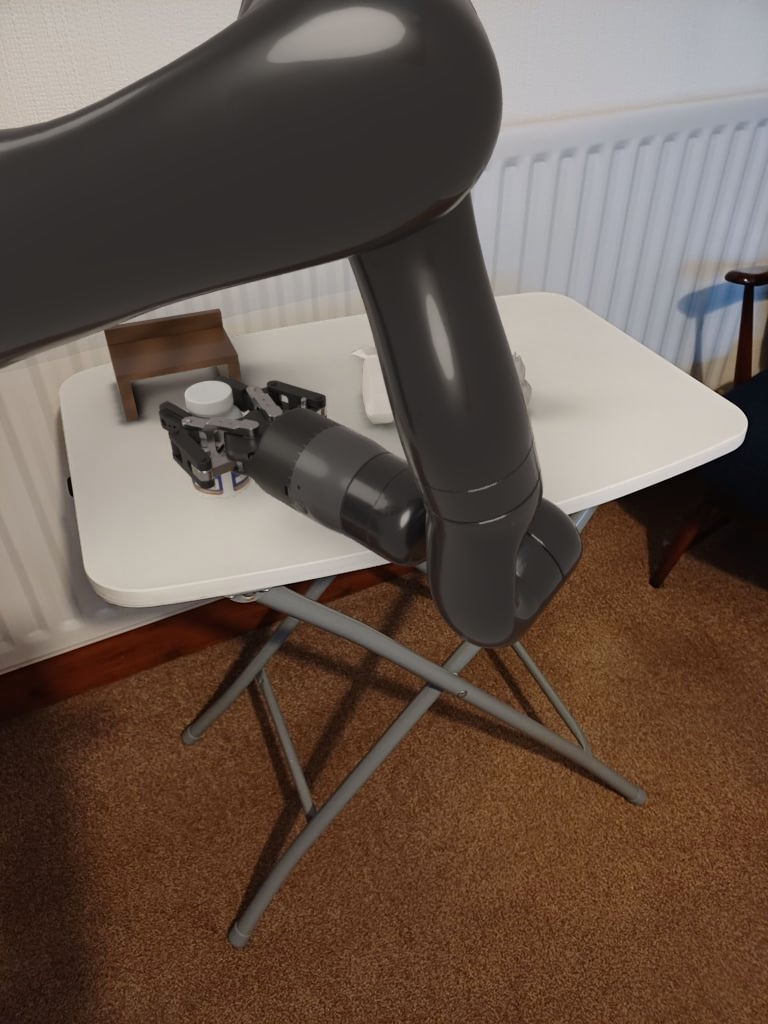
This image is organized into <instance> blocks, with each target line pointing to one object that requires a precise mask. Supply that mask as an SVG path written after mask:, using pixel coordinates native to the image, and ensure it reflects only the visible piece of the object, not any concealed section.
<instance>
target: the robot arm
mask: <svg viewBox="0 0 768 1024" xmlns="http://www.w3.org/2000/svg"><path fill="white" fill-rule="evenodd" d="M490 41H491V40H490V39H489V36H488V34H487V32H486V29H485V27H484V24H483V22H482V21H481V18H480V17H479V15H478V13H477V11H476V9H475V6H474V4H473V2H472V1H471V0H241V2H240V8H239V11H238V14H237V18H236V20H234V21H233V22H232V23H230V24H229V25H227V26H226V27H225V28H223V29H221V30H220V31H219V32H217V33H216V34H214V35H213V36H211V37H210V38H208V39H207V40H205V41H204V42H202V43H200V44H199V45H197V46H195V47H194V48H192V49H190V50H189V51H187V52H185V53H184V54H182V55H180V56H179V57H177V58H176V59H174V60H173V61H171V62H169V63H167V64H166V65H163V66H161V67H160V68H158V69H156V70H155V71H153V72H151V73H149V74H147V75H145V76H143V77H142V78H139V79H138V80H136V81H134V82H132V83H130V84H128V85H126V86H124V87H123V88H121V89H119V90H117V91H115V92H113V93H111V94H109V95H108V96H105V97H103V98H102V99H99V100H98V101H96V102H93V103H91V104H88V105H86V106H85V107H82V108H80V109H78V110H75V111H73V112H71V113H67V114H65V115H62V116H59V117H56V118H53V119H50V120H47V121H43V122H37V123H34V124H28V125H23V126H18V127H9V128H0V371H1V370H3V369H6V368H8V367H10V366H12V365H15V364H17V363H20V362H22V361H24V360H27V359H30V358H32V357H34V356H37V355H41V354H43V353H46V352H49V351H51V350H54V349H56V348H59V347H62V346H65V345H68V344H71V343H74V342H77V341H79V340H81V339H84V338H87V337H90V336H92V335H95V334H97V333H100V332H104V330H106V329H108V328H111V327H113V326H116V325H119V324H124V323H126V322H127V321H130V320H132V319H135V318H137V317H140V316H142V315H145V314H148V313H150V312H153V311H156V310H159V309H162V308H163V307H164V308H165V307H167V306H171V305H173V304H176V303H177V304H178V303H180V302H183V301H186V300H190V299H193V298H197V297H201V296H205V295H208V294H212V293H215V292H219V291H223V290H227V289H231V288H235V287H239V286H242V285H243V286H244V285H247V284H250V283H255V282H259V281H262V280H267V279H271V278H275V277H279V276H282V275H287V274H291V273H294V272H299V271H302V270H307V269H311V268H314V267H318V266H322V265H326V264H330V263H334V262H338V261H342V260H345V259H347V260H348V262H349V265H350V268H351V271H352V274H353V276H354V280H355V282H356V284H357V285H356V286H357V288H358V291H359V294H360V297H361V300H362V303H363V306H364V309H365V314H366V316H367V321H368V324H369V327H370V331H371V334H372V338H373V339H372V340H373V343H374V347H376V351H377V355H378V359H379V363H380V367H381V371H382V376H383V380H384V384H385V388H386V392H387V396H388V400H389V404H390V407H391V411H392V415H393V418H394V420H393V422H394V425H395V428H396V433H397V434H398V437H399V442H400V444H401V447H402V451H403V453H404V456H405V459H404V458H403V457H401V456H398V455H396V454H395V453H393V452H391V451H389V450H387V449H386V448H385V447H383V446H382V445H381V444H379V443H378V442H377V441H374V439H371V438H369V437H368V436H365V435H363V434H361V433H359V432H357V431H355V430H354V429H351V428H349V427H347V426H345V425H343V424H341V423H339V422H337V421H335V420H333V419H331V418H329V417H328V410H327V396H326V395H325V394H322V393H320V392H316V391H313V390H309V389H306V388H303V387H299V386H296V385H293V384H290V383H287V382H283V381H280V380H275V379H273V380H269V381H268V382H266V387H265V386H264V387H260V386H259V385H247V384H245V383H243V382H242V383H241V382H238V381H237V380H235V379H231V378H227V377H225V376H221V375H220V376H218V377H216V378H214V381H220V382H224V383H226V384H228V385H229V386H230V387H231V389H232V395H233V400H234V402H233V405H235V406H236V407H238V408H239V409H240V411H241V412H242V413H246V412H247V413H246V414H245V415H243V417H242V418H239V419H236V420H233V419H228V418H223V417H218V416H213V417H212V418H211V419H210V420H207V419H202V418H197V417H192V414H190V413H189V412H187V410H185V409H183V408H181V407H179V406H178V405H177V404H174V403H173V402H171V401H169V400H166V401H164V402H161V403H159V404H158V409H159V410H158V416H159V421H160V425H161V427H162V429H163V430H165V431H166V432H167V435H168V439H169V442H170V446H171V452H172V453H171V454H172V459H173V460H174V462H176V463H177V465H178V466H179V467H180V468H181V469H182V470H183V471H184V472H185V473H186V474H187V475H188V476H189V477H190V478H192V479H193V480H194V481H195V482H196V483H197V484H198V485H199V486H200V487H201V488H203V489H210V488H212V487H214V486H215V479H214V477H217V476H219V475H222V474H224V473H227V472H229V471H231V472H233V473H235V474H238V475H245V476H249V477H251V480H252V481H254V482H255V483H256V485H257V486H258V487H259V488H261V490H262V491H263V492H264V493H265V494H267V495H269V496H270V497H272V498H274V499H275V500H277V501H279V502H281V503H282V504H284V505H286V506H287V507H289V508H290V509H293V510H294V511H296V512H297V513H299V514H301V515H303V516H305V517H306V518H308V519H309V520H311V521H313V522H314V523H316V524H318V525H319V526H322V528H325V529H327V530H329V531H332V532H334V533H337V534H339V535H343V536H345V537H346V538H347V539H350V540H352V541H353V542H354V543H357V544H358V545H360V546H362V547H363V548H365V549H367V550H369V551H371V552H372V553H373V554H375V555H377V556H379V557H380V558H382V559H384V560H385V561H387V562H389V563H391V564H393V565H396V566H398V567H402V568H413V567H417V566H419V565H421V564H424V563H425V567H426V579H427V584H428V589H429V593H430V596H431V599H432V602H433V605H434V606H435V608H436V610H437V612H438V614H439V616H440V617H441V619H442V621H443V622H444V623H445V624H446V626H447V627H448V628H449V629H450V630H451V631H452V632H453V633H454V634H455V635H456V636H458V637H459V638H460V639H462V640H463V641H465V642H466V643H469V644H470V645H473V646H476V647H479V648H482V649H483V648H484V649H488V650H496V649H497V650H498V649H505V648H507V647H510V646H513V645H515V644H517V643H518V642H520V640H522V639H523V638H524V637H525V636H526V635H527V634H528V633H530V630H531V629H532V628H533V627H534V626H535V624H536V623H537V622H538V620H539V619H540V617H541V616H542V615H543V614H544V612H545V611H546V609H547V608H548V607H549V606H550V604H551V603H552V601H553V600H554V599H555V598H556V596H557V595H558V594H559V592H560V591H561V589H562V588H563V587H564V586H565V585H566V583H567V582H568V580H569V578H571V576H572V575H573V573H574V572H575V571H576V570H577V568H578V566H579V564H580V562H581V560H582V557H583V552H584V551H583V550H584V546H583V545H584V544H583V539H582V536H581V533H580V531H579V529H578V527H577V525H576V524H575V523H574V521H573V519H572V518H571V517H570V515H568V514H567V513H566V512H565V511H564V510H563V509H562V508H560V507H559V506H558V505H557V504H555V503H554V502H552V501H551V500H550V499H549V500H548V499H547V498H545V497H544V481H543V480H544V479H543V473H542V468H541V462H540V458H539V454H538V453H539V452H538V449H537V445H536V440H535V435H534V430H533V425H532V420H531V417H530V412H529V408H528V403H527V404H526V400H525V396H524V393H523V389H522V386H521V382H520V379H519V375H518V372H517V369H516V366H515V363H514V359H513V353H512V350H511V347H510V344H509V341H508V337H507V333H506V331H505V328H504V325H503V322H502V318H501V315H500V311H499V308H498V304H497V302H496V299H495V295H494V292H493V288H492V285H491V284H492V283H491V280H490V278H489V274H488V270H487V266H486V263H485V258H484V253H483V250H482V245H481V240H480V237H479V231H478V226H477V221H476V216H475V212H474V205H473V199H472V193H471V191H472V190H473V188H474V187H475V185H476V184H477V183H478V181H479V180H480V178H481V176H482V175H483V173H484V172H485V170H486V168H487V166H488V165H489V163H490V160H491V159H492V157H493V153H494V150H495V149H496V146H497V143H498V140H499V135H500V131H501V126H502V121H503V109H504V108H503V105H504V100H503V99H504V98H503V85H502V79H501V73H500V68H499V65H498V61H497V57H496V54H495V51H494V49H493V47H492V44H491V42H490ZM283 396H284V397H286V398H287V401H284V400H283ZM199 431H200V432H203V433H205V434H206V438H207V439H205V438H200V434H199ZM221 431H223V432H224V443H225V445H224V443H223V438H222V432H221ZM192 479H191V480H192Z"/></svg>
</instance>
